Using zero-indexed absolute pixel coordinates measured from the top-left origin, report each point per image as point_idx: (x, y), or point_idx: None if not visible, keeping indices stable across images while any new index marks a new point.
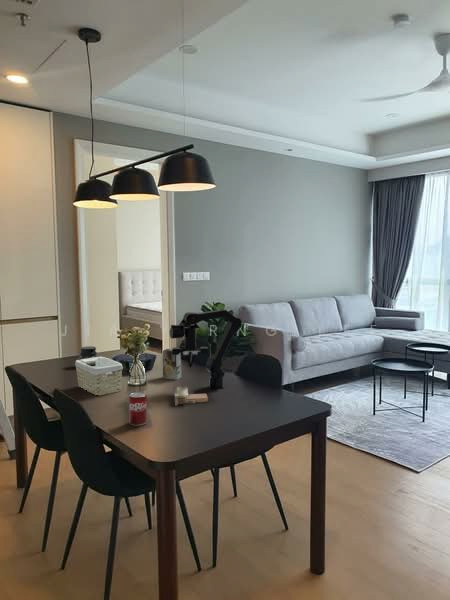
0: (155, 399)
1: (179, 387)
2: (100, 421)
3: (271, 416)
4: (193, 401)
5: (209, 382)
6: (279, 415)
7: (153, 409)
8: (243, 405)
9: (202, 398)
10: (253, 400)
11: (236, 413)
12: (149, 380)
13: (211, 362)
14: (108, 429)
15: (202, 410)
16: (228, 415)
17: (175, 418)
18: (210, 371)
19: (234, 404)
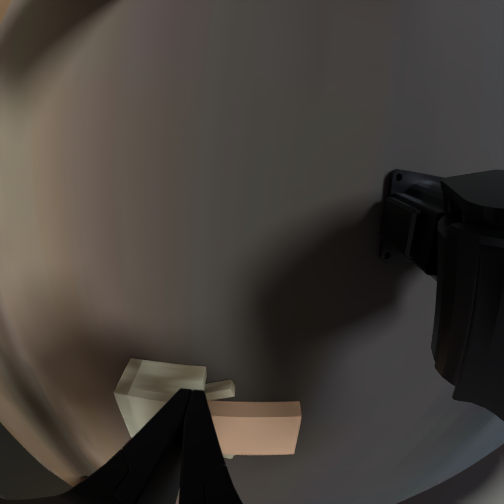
0: (64, 375)
1: (144, 407)
2: (28, 450)
3: (406, 488)
4: (228, 457)
5: (393, 224)
6: (424, 482)
7: (98, 448)
8: (395, 456)
9: (269, 452)
10: (450, 419)
11: (343, 491)
12: (3, 25)
13: (496, 396)
14: (64, 479)
15: (254, 484)
16: (318, 499)
17: (177, 496)
18: (432, 348)
19: (375, 454)
